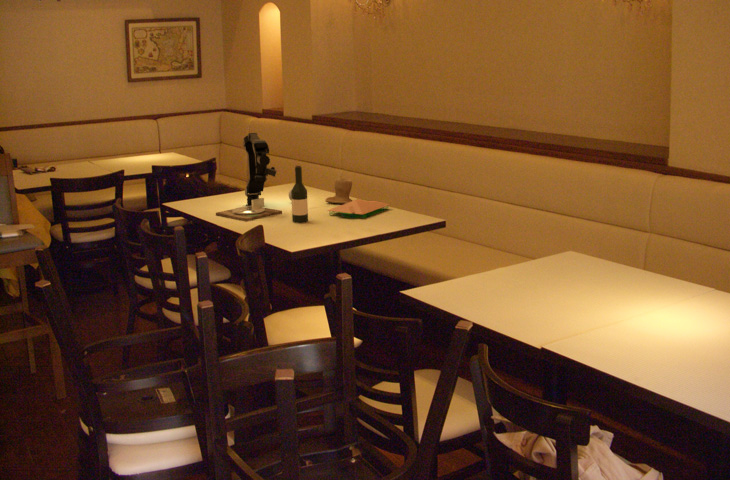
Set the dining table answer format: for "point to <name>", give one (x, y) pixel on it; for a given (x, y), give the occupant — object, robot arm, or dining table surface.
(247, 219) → the board
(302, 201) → the wine bottle
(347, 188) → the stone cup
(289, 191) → the donut
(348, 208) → the house
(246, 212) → the dial
